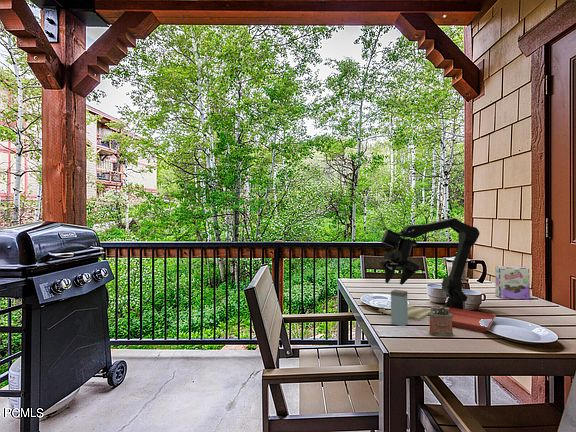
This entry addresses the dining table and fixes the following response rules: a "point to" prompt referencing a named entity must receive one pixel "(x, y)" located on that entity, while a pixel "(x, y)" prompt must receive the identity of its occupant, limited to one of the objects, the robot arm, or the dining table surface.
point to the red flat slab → (469, 319)
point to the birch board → (413, 312)
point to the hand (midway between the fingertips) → (393, 283)
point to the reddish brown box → (440, 322)
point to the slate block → (399, 308)
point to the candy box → (512, 282)
